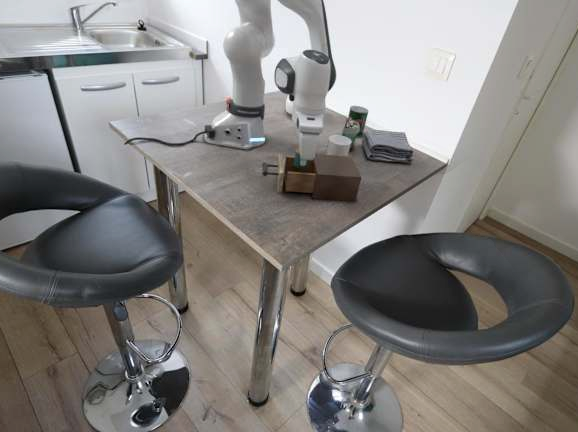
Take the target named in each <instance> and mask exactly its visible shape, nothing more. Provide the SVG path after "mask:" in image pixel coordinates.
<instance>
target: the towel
mask: <svg viewBox="0 0 578 432" xmlns="http://www.w3.org/2000/svg"><path fill="white" fill-rule="evenodd" d="M361 145H362V147H363V149H364V152H365V154H366V157H367V159H368V160H371V161H379V162H393V163H406V164H411V163H412V161H413V160H414V157H413V156H414V149H413V147H412V146H411V145H410V143H409V141H408V138H407V134H406V132H404V131H391V130H384V129H383V130H381V129H368V130H366V131H363V138H362V139H361Z"/></svg>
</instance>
